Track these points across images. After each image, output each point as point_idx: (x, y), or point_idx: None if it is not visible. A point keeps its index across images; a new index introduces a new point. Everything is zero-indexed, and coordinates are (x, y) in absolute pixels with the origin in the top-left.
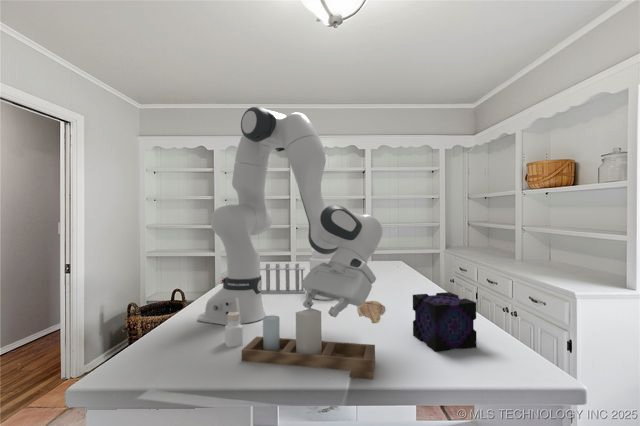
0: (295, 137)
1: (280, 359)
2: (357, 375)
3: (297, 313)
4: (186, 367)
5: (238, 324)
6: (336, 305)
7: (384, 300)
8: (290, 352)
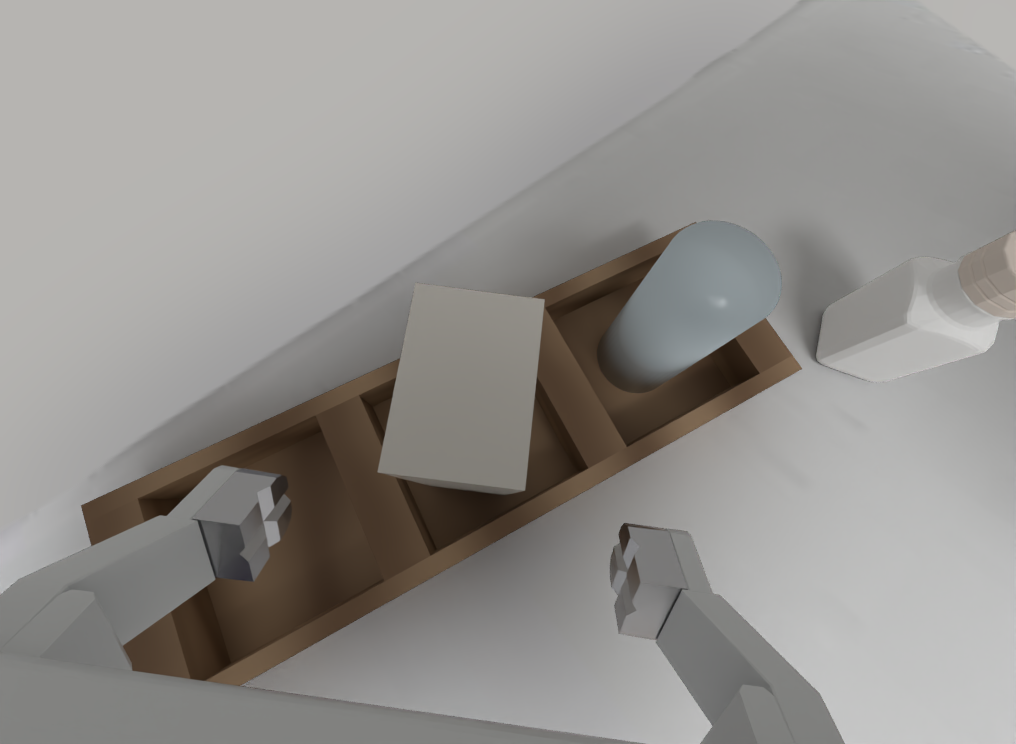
0: None
1: None
2: None
3: (519, 297)
4: (799, 157)
5: (941, 304)
6: (151, 537)
7: None
8: None
